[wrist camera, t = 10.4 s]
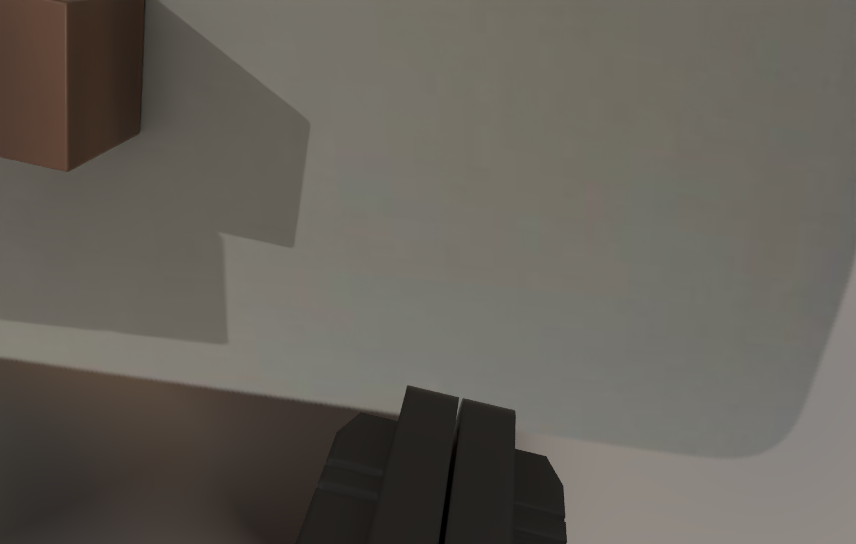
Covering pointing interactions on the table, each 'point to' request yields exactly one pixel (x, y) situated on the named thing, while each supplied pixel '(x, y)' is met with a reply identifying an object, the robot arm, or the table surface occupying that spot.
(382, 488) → the robot arm
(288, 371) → the table surface
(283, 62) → the table surface
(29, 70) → the walnut block
